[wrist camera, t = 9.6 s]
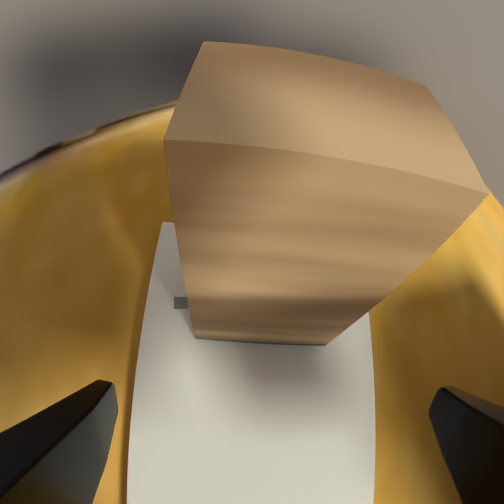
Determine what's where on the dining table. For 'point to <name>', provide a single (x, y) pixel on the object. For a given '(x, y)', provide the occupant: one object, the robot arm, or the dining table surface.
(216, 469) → the board
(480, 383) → the dining table surface
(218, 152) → the block
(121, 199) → the dining table surface
